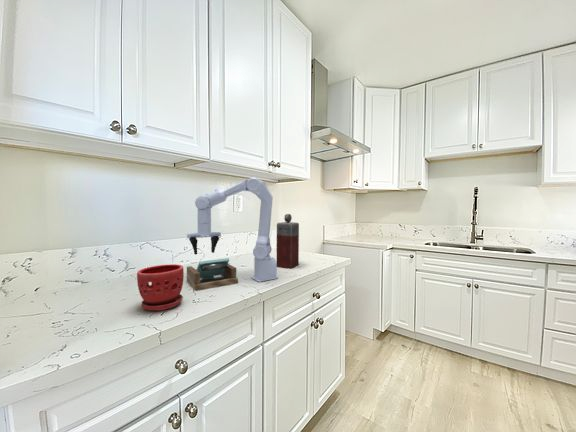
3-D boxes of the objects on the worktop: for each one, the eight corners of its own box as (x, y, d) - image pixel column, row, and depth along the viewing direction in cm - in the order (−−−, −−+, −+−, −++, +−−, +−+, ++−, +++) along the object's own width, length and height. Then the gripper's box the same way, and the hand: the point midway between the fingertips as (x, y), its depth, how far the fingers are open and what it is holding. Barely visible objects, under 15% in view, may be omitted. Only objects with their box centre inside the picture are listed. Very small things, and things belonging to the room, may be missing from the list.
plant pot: (184, 295, 87) (184, 262, 86) (182, 310, 74) (182, 271, 74) (142, 300, 82) (141, 264, 82) (132, 316, 70) (132, 275, 69)
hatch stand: (225, 275, 113) (225, 262, 113) (237, 283, 101) (237, 268, 101) (186, 281, 104) (186, 266, 104) (195, 290, 92) (195, 274, 92)
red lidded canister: (280, 263, 139) (281, 213, 138) (298, 265, 134) (299, 214, 133) (272, 266, 131) (272, 213, 130) (291, 268, 126) (291, 214, 125)
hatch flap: (223, 279, 109) (221, 272, 111) (230, 265, 101) (228, 258, 103) (195, 284, 102) (193, 276, 104) (201, 269, 94) (199, 261, 96)
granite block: (213, 278, 109) (210, 275, 113) (213, 267, 108) (210, 264, 113) (202, 280, 106) (199, 277, 110) (202, 268, 106) (198, 266, 110)
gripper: (217, 222, 118) (217, 250, 119) (185, 223, 110) (185, 253, 110) (222, 223, 112) (222, 252, 113) (189, 224, 104) (189, 256, 105)
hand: (204, 253), depth 111 cm, fingers open, 7 cm apart
